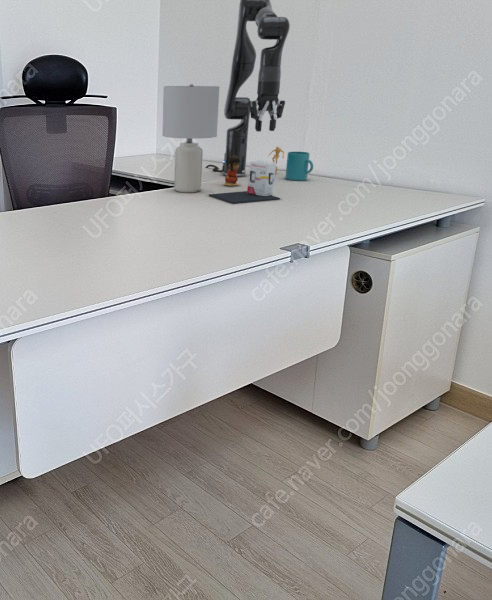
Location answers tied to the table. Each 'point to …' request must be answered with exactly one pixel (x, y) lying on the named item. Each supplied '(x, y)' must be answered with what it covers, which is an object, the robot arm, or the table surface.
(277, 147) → the figurine
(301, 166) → the cup
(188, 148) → the lamp
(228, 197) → the mat
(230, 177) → the figurine
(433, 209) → the table surface
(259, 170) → the ink box
